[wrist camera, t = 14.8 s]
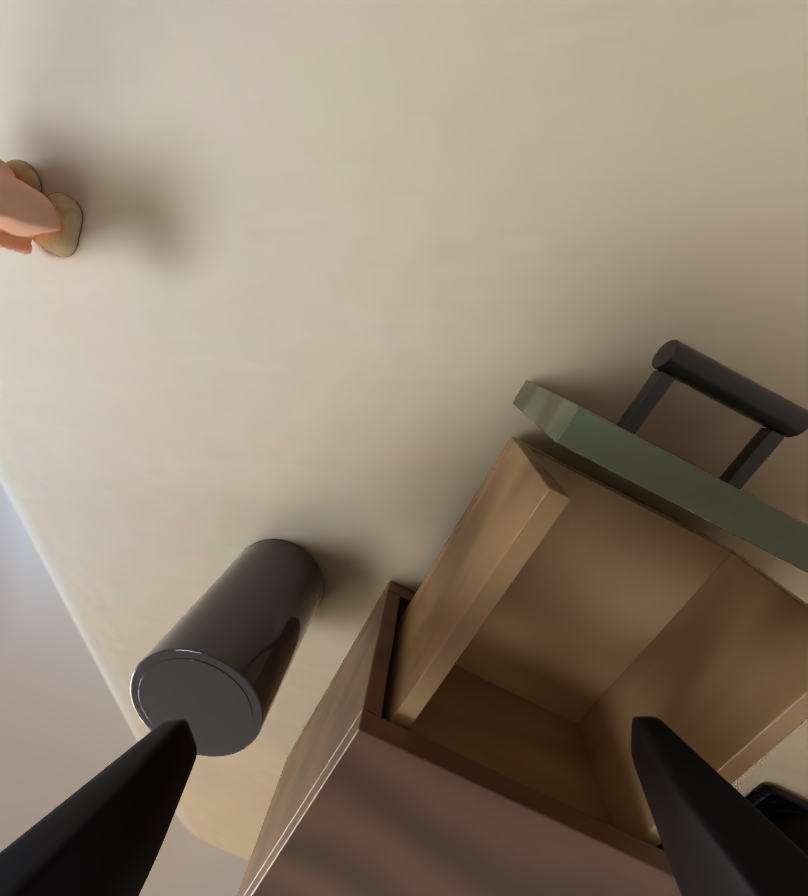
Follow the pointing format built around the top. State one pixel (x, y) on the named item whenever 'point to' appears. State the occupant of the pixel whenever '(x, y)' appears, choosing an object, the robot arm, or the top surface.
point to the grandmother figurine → (35, 213)
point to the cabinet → (424, 810)
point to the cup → (231, 649)
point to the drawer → (609, 607)
